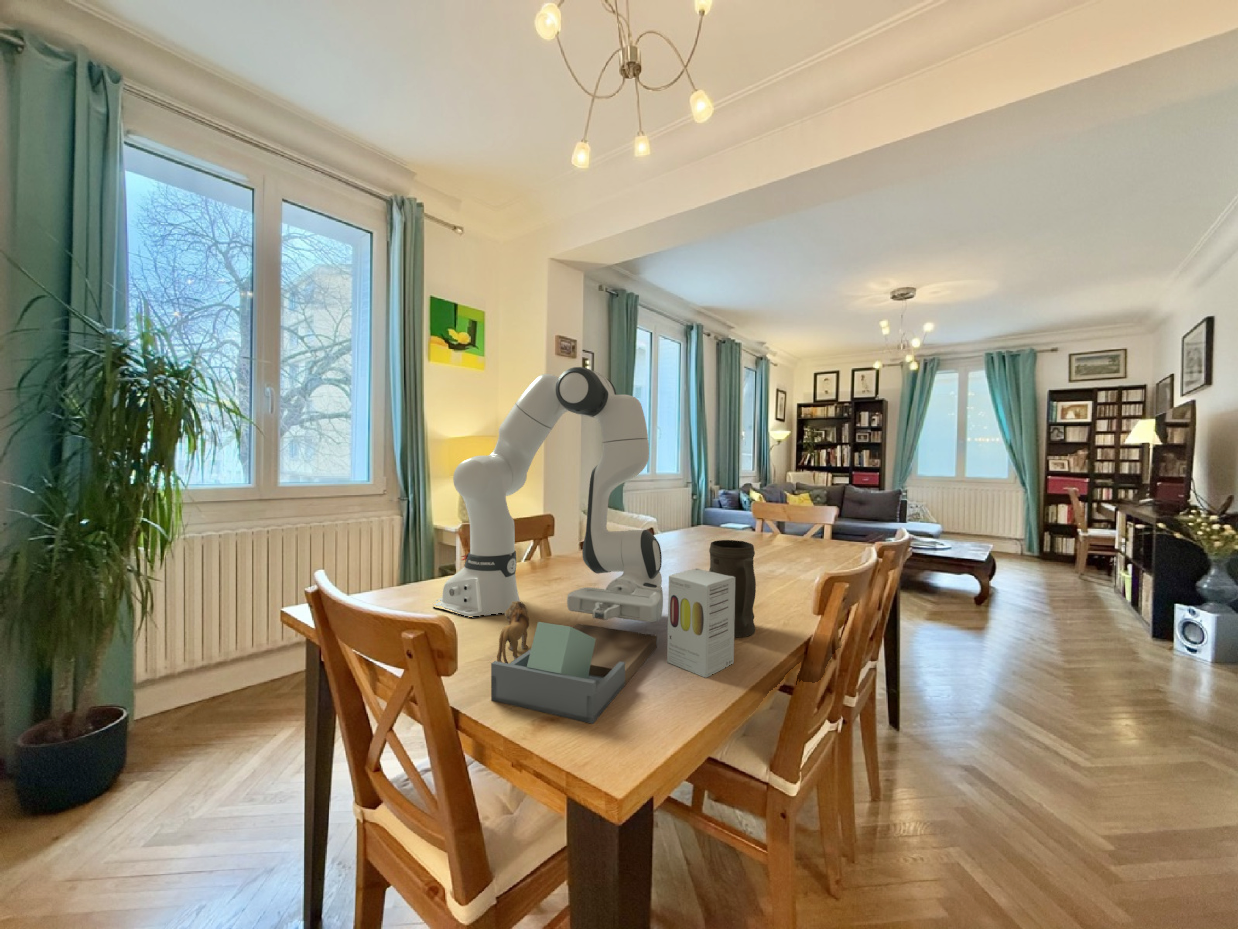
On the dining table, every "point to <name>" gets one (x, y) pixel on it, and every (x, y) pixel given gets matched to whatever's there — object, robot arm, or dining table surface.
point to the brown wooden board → (618, 649)
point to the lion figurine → (514, 630)
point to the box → (555, 689)
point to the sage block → (561, 650)
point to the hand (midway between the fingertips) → (599, 615)
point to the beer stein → (737, 579)
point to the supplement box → (701, 621)
